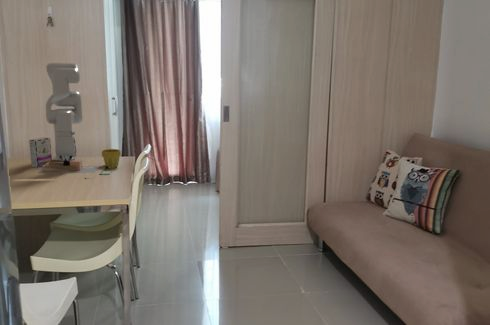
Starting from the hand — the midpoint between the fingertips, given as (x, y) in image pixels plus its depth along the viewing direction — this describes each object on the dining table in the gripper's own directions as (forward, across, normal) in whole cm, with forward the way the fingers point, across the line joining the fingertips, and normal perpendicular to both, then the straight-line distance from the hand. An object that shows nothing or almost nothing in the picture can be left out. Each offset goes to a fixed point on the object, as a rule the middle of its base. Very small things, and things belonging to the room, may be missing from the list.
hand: (66, 167), depth 238 cm
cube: (+1, -5, 0) cm, 5 cm away
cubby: (+1, +3, 0) cm, 3 cm away
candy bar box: (+3, +18, -14) cm, 23 cm away
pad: (+2, -20, +4) cm, 21 cm away
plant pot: (+3, -22, -13) cm, 25 cm away
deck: (+2, -1, -1) cm, 3 cm away
